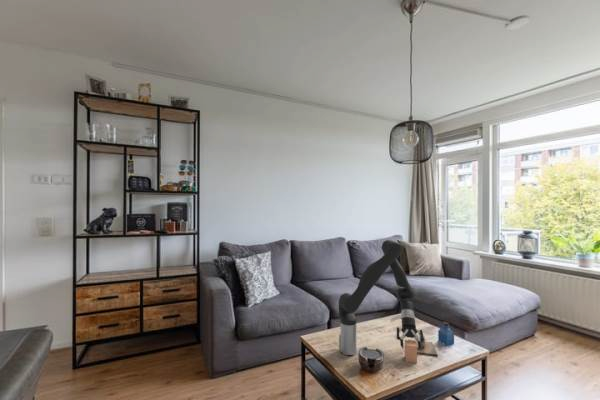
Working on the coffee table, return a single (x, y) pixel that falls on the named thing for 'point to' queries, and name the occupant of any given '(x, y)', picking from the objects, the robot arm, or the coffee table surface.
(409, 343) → the salmon orange block
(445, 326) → the perfume bottle
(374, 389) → the coffee table surface
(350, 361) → the coffee table surface
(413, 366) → the coffee table surface
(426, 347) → the walnut post board
